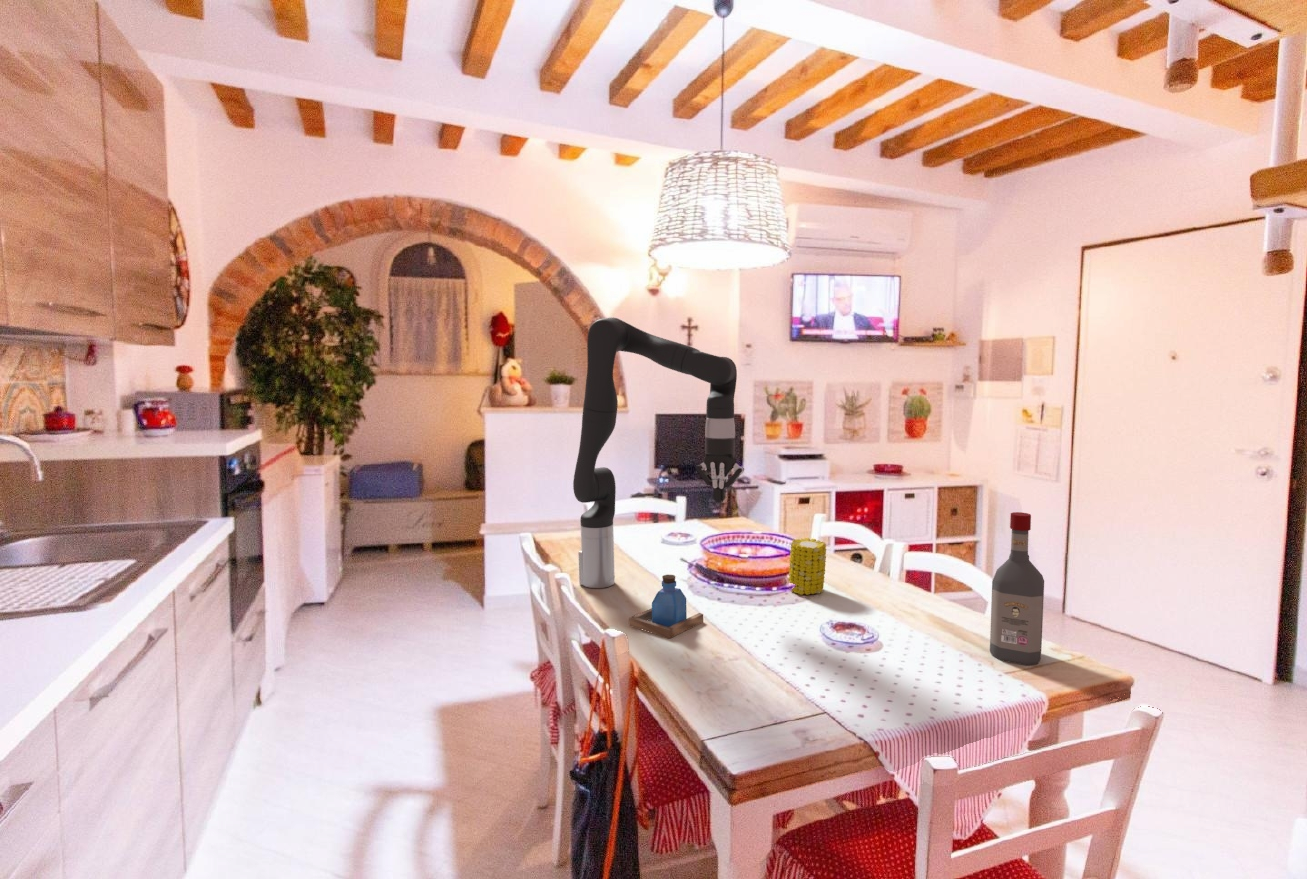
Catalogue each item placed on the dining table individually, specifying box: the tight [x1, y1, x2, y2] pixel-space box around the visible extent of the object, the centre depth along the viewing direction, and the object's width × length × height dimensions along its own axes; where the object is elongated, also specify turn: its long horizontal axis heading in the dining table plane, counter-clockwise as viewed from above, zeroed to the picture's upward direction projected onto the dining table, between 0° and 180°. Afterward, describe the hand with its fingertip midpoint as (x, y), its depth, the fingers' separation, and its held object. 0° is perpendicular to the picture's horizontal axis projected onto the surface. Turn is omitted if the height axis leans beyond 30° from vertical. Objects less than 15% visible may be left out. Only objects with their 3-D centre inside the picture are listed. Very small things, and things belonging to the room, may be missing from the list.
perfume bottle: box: [651, 574, 688, 627], centre depth 161 cm, size 6×6×12 cm
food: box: [787, 537, 827, 596], centre depth 184 cm, size 15×12×10 cm
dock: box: [628, 607, 704, 639], centre depth 163 cm, size 13×12×2 cm
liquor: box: [989, 511, 1045, 666], centre depth 140 cm, size 9×9×30 cm
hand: (719, 502), depth 175 cm, fingers closed
